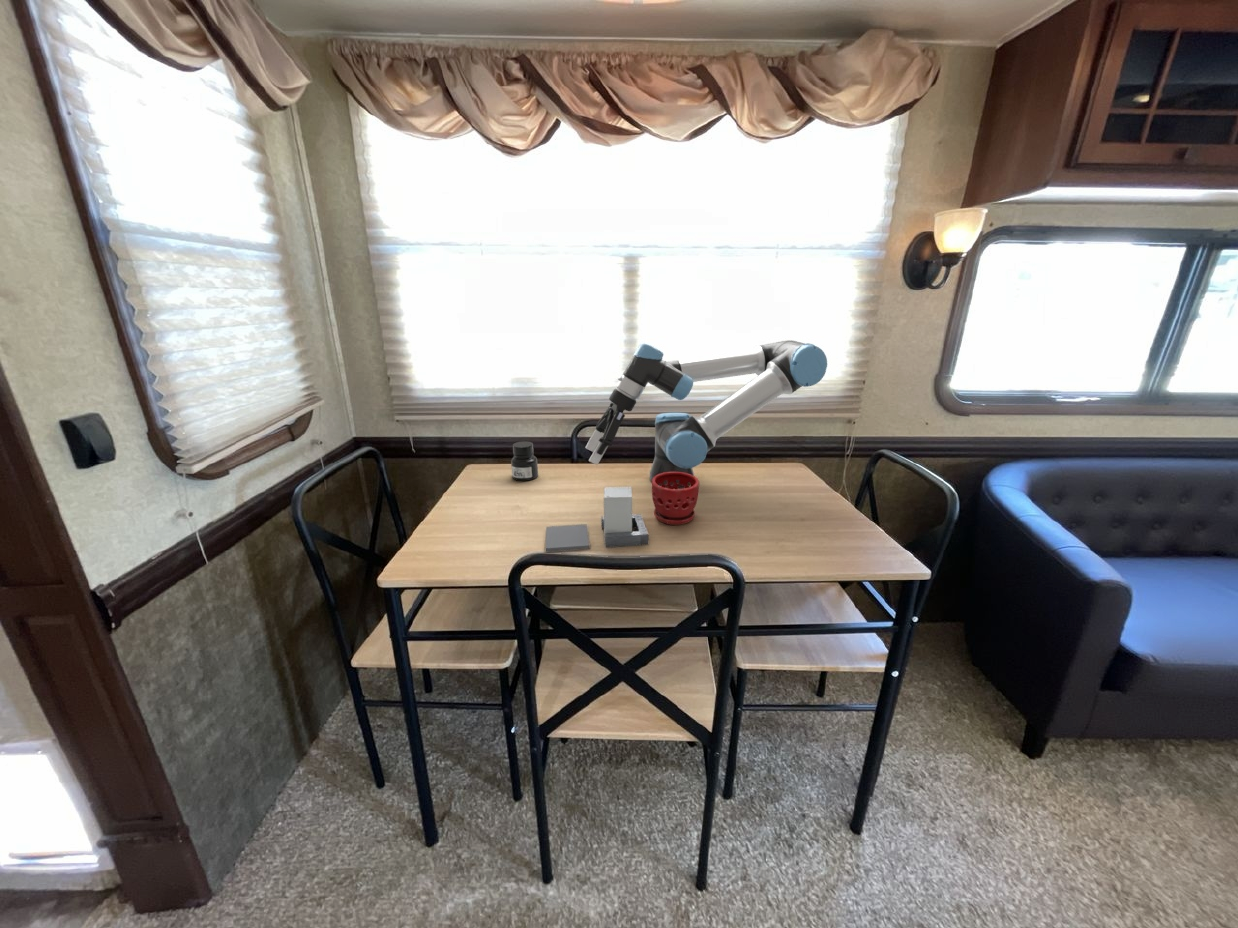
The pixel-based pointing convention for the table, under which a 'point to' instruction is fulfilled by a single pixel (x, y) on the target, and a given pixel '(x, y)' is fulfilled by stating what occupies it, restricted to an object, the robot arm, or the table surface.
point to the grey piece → (628, 534)
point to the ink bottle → (524, 462)
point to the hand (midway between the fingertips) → (590, 456)
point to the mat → (567, 538)
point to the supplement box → (617, 509)
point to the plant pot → (675, 497)
